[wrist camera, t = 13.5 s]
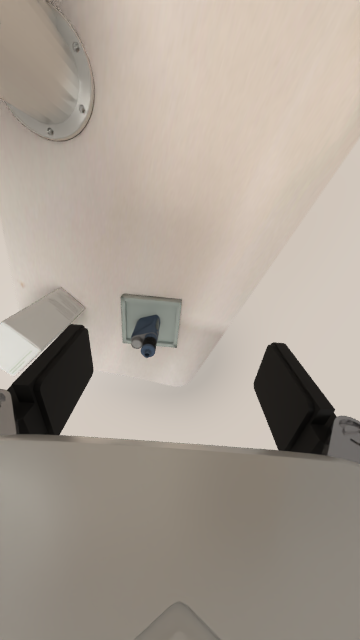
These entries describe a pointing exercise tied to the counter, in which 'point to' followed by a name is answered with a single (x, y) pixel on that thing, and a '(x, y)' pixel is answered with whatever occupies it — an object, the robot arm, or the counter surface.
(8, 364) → the skincare box
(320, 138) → the counter surface
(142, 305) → the tray
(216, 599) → the robot arm
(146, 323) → the vaping device
